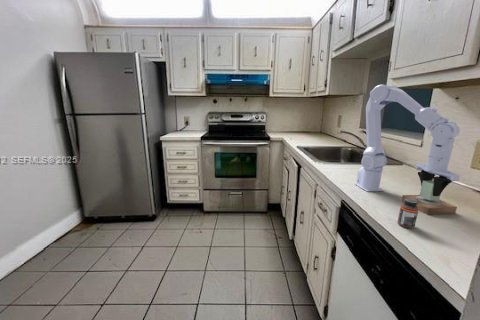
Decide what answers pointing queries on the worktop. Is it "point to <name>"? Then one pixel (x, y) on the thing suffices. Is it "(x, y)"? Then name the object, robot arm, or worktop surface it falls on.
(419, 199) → the walnut base
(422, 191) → the sage block
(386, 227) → the worktop surface
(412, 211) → the supplement bottle
